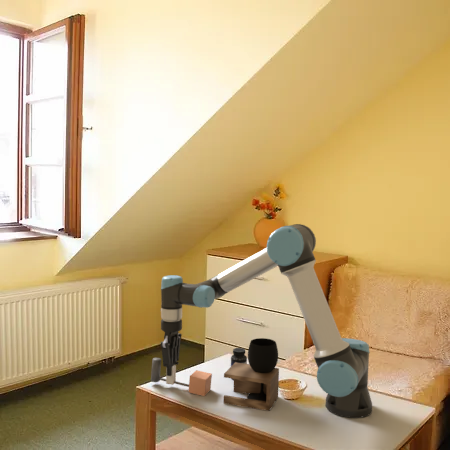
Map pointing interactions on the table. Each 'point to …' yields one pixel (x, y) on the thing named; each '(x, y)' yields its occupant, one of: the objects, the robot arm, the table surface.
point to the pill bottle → (238, 356)
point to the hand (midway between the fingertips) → (170, 382)
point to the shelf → (252, 386)
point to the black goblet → (262, 361)
